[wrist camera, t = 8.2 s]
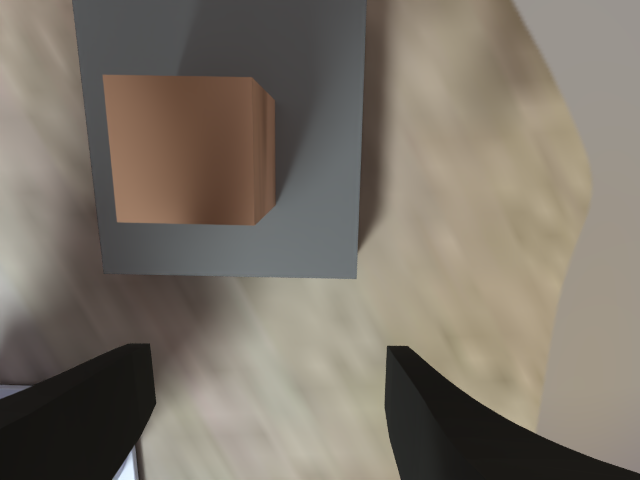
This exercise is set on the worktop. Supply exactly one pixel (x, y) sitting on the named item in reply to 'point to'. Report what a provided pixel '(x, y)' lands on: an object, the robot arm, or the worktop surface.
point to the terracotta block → (191, 149)
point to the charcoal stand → (290, 127)
